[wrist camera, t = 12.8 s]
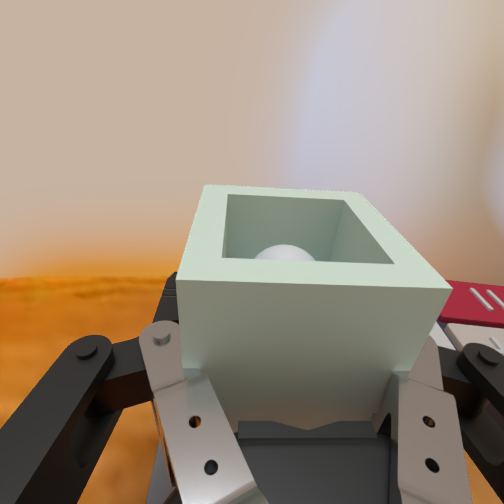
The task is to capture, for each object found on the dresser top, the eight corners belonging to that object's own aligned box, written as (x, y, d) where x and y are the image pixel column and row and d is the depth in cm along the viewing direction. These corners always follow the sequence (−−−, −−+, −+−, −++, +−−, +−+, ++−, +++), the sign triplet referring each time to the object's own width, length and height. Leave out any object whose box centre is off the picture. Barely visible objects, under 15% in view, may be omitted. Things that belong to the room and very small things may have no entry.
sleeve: (192, 492, 11) (175, 279, 6) (207, 360, 16) (204, 184, 11) (347, 490, 12) (453, 288, 7) (314, 362, 17) (359, 192, 12)
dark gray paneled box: (689, 410, 16) (414, 383, 15) (626, 451, 18) (385, 429, 17) (529, 283, 25) (355, 263, 25) (501, 320, 28) (341, 303, 27)
